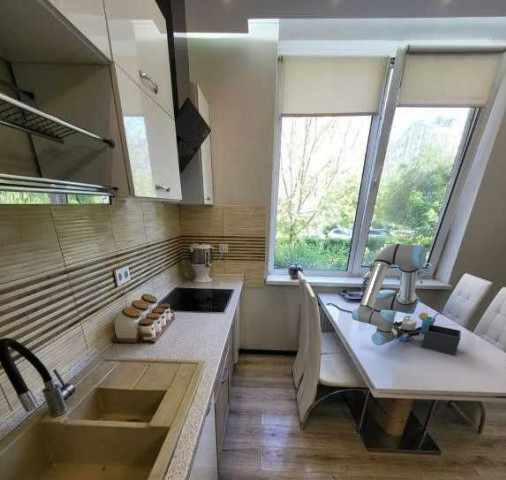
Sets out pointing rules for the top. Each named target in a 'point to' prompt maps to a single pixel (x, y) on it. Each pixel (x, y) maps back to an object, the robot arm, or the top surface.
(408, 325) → the ink box
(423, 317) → the cup
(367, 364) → the top surface
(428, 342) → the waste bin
